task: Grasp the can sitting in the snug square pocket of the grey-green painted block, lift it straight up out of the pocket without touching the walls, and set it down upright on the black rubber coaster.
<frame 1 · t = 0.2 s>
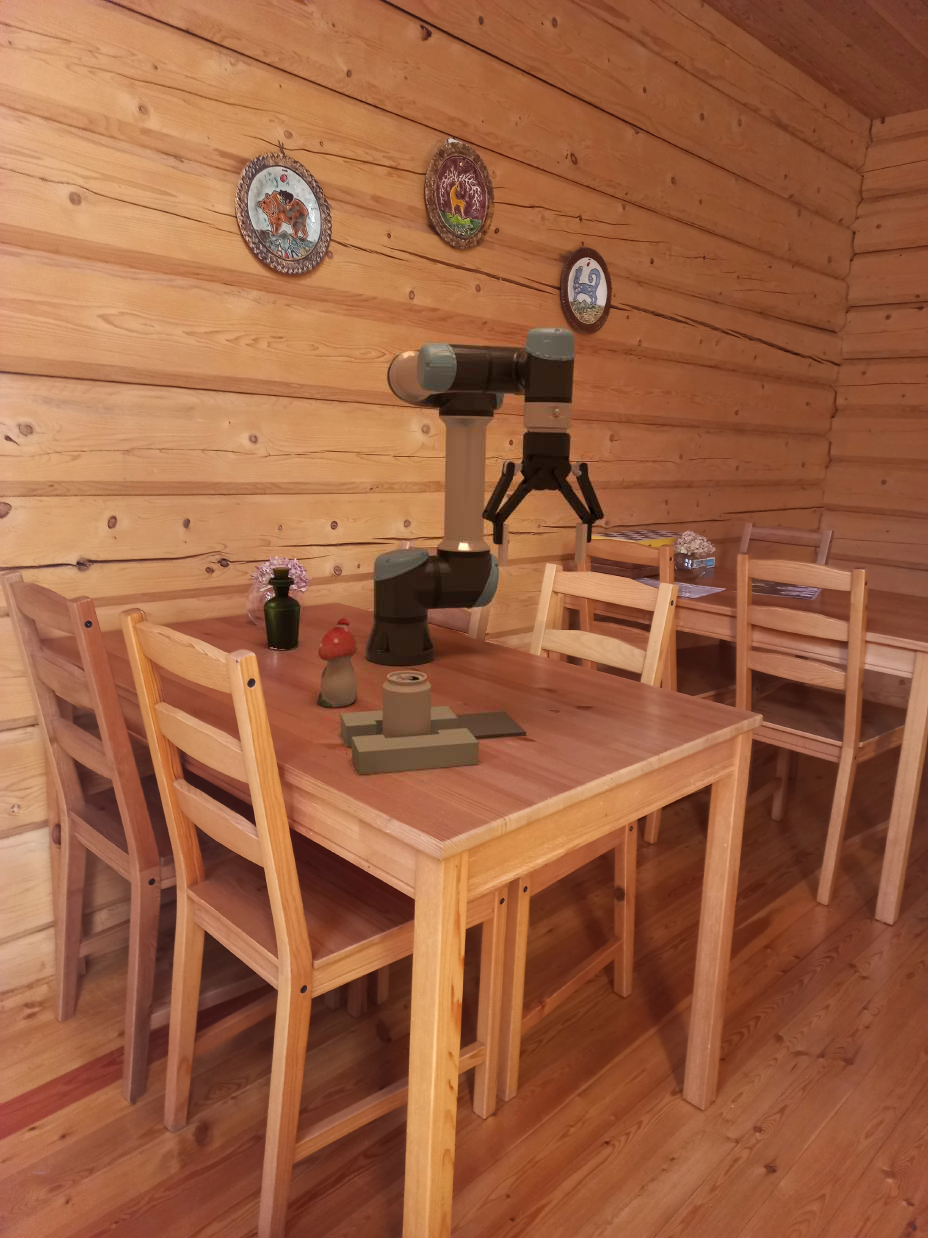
hand: (541, 563, 145), 28 cm above the table, fingers open, 13 cm apart
decorative ornament: (337, 703, 161), on the table
coaster: (484, 726, 150), on the table
pocket block: (406, 748, 139), on the table
can: (406, 749, 139), on the table
potion bottle: (282, 648, 200), on the table
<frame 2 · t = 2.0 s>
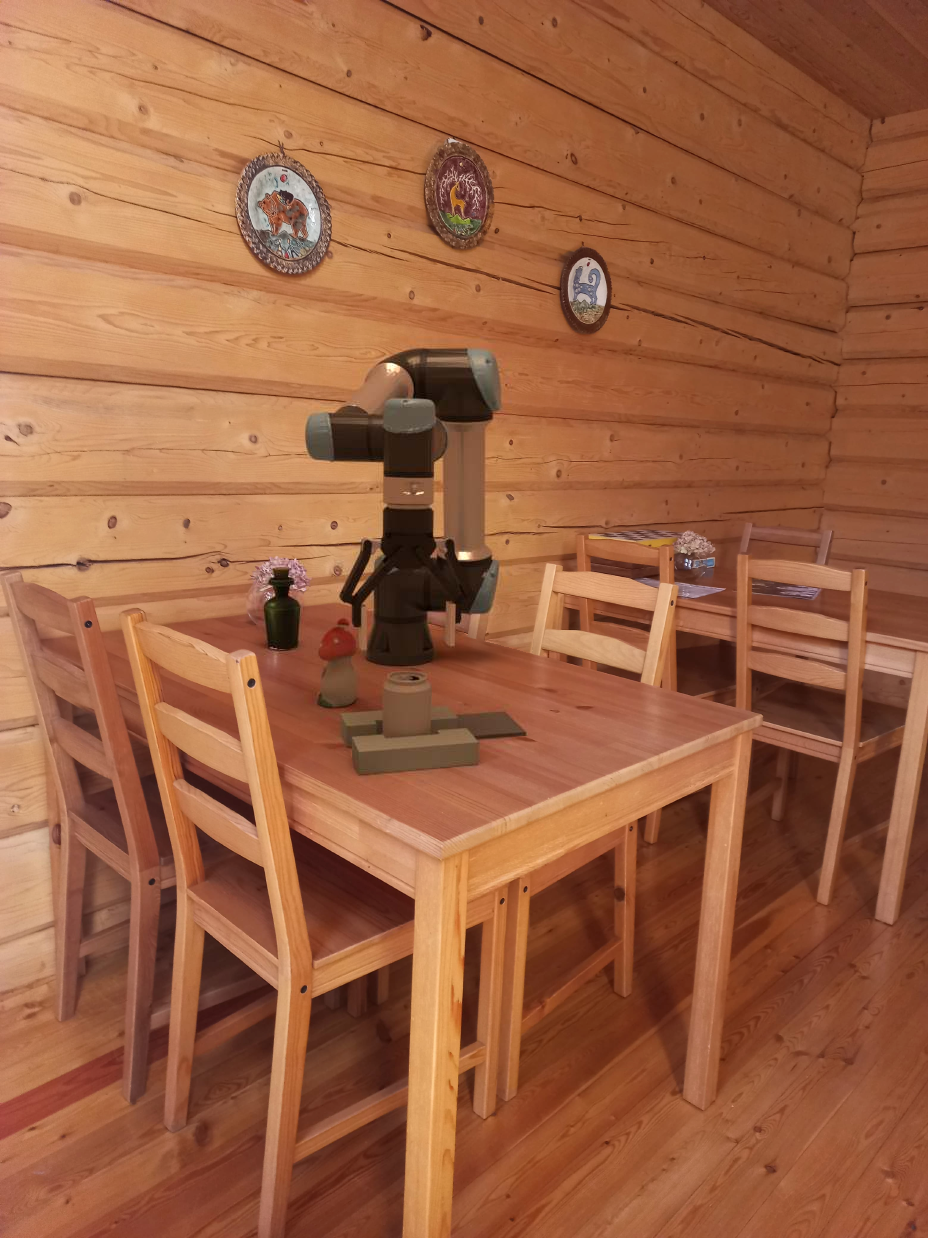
hand: (406, 646, 135), 17 cm above the table, fingers open, 13 cm apart
nothing on the table moved.
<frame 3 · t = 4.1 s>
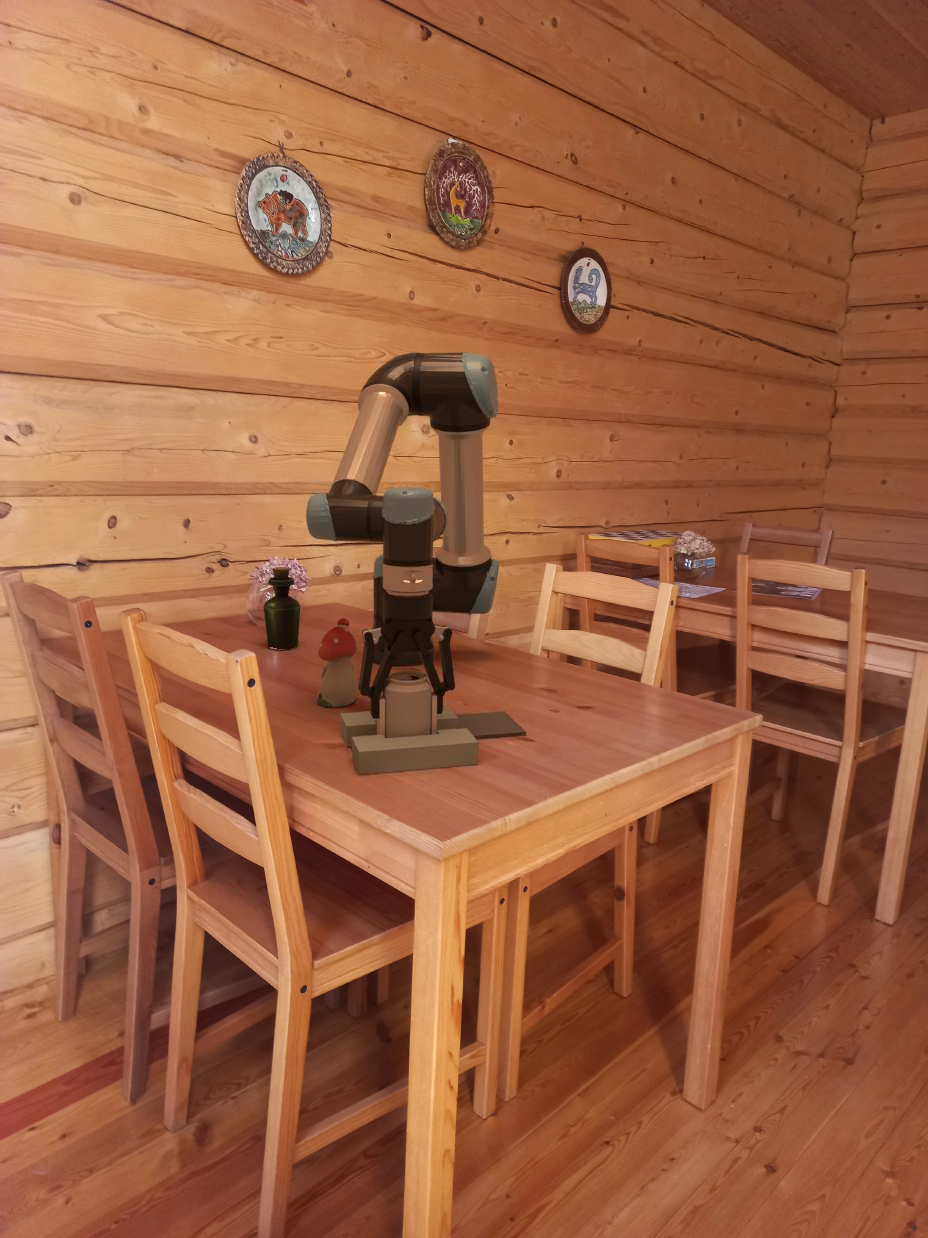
hand: (406, 735, 138), 2 cm above the table, fingers closed on can, 7 cm apart
can: (406, 749, 139), on the table, touching gripper
everything else where it was.
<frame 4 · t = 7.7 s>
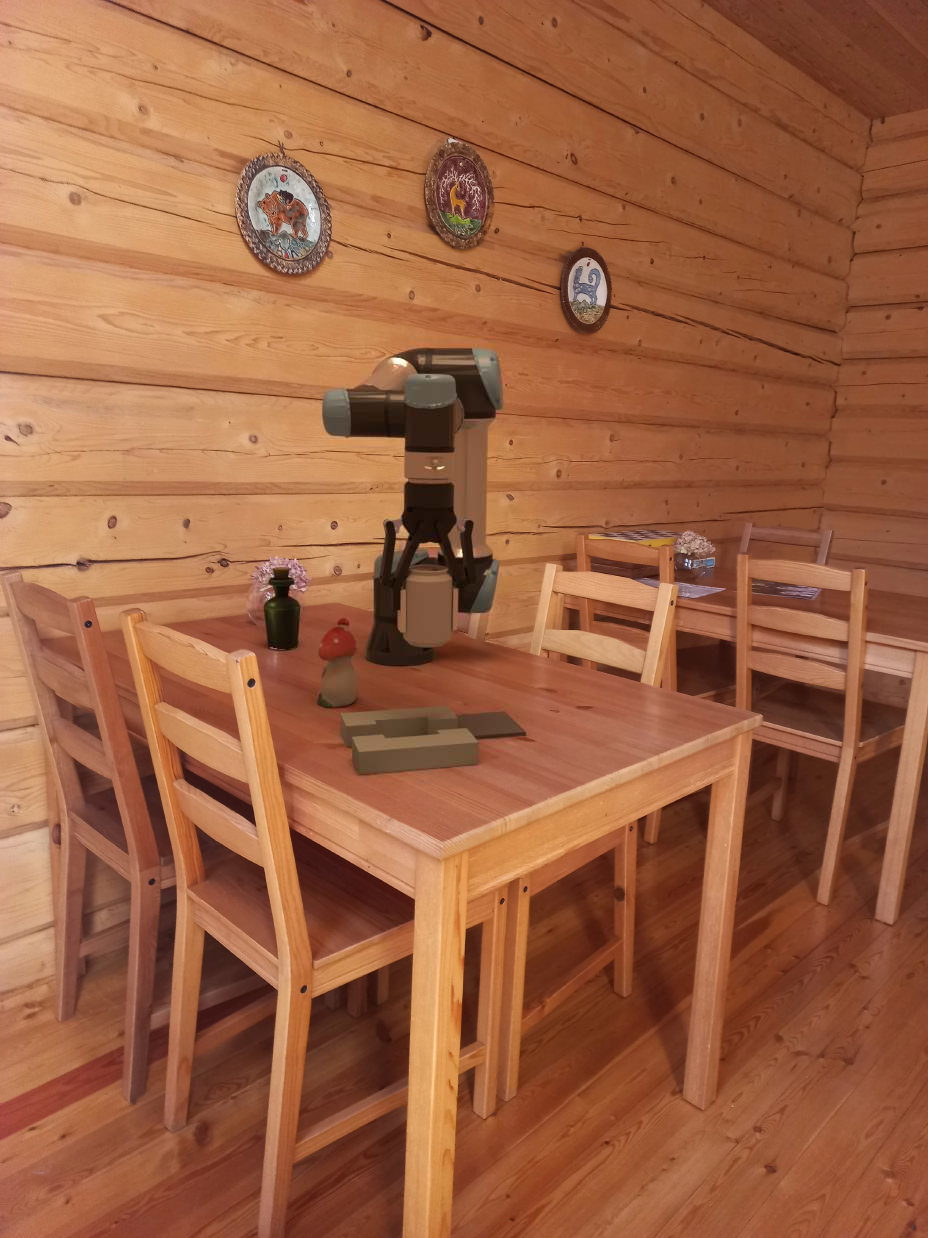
hand: (427, 629, 138), 19 cm above the table, fingers closed on can, 7 cm apart
can: (427, 643, 138), point 16 cm above the table, touching gripper
everything else where it was.
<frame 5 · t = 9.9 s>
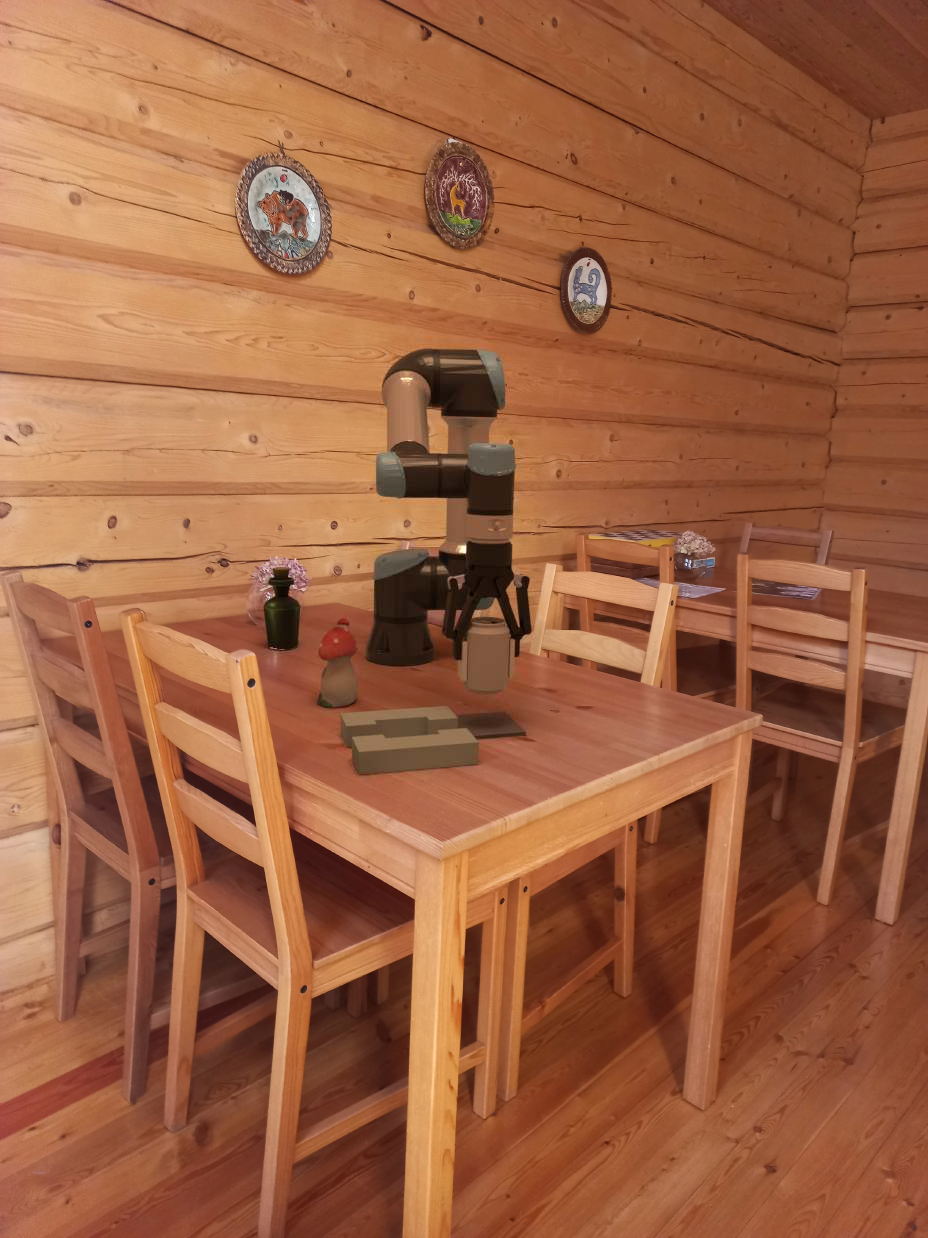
hand: (485, 677, 148), 9 cm above the table, fingers closed on can, 7 cm apart
can: (485, 690, 148), point 6 cm above the table, touching gripper
everything else where it was.
when the fingers open (4 cm above the table, at t = 11.5 s): can drops 1 cm, resting on coaster.
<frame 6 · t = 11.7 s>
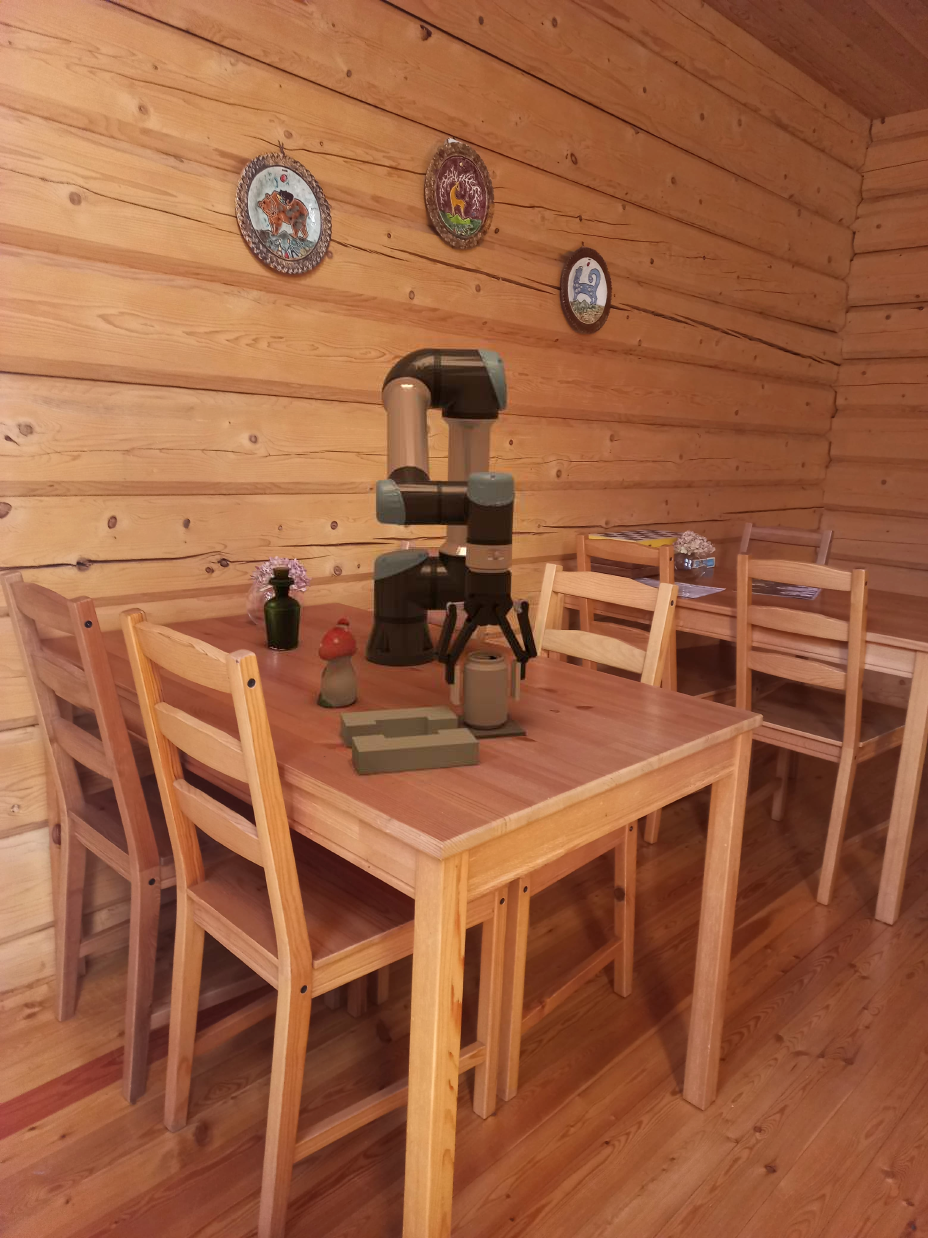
hand: (484, 700, 149), 5 cm above the table, fingers open, 10 cm apart
can: (484, 724, 150), resting on coaster
everything else where it was.
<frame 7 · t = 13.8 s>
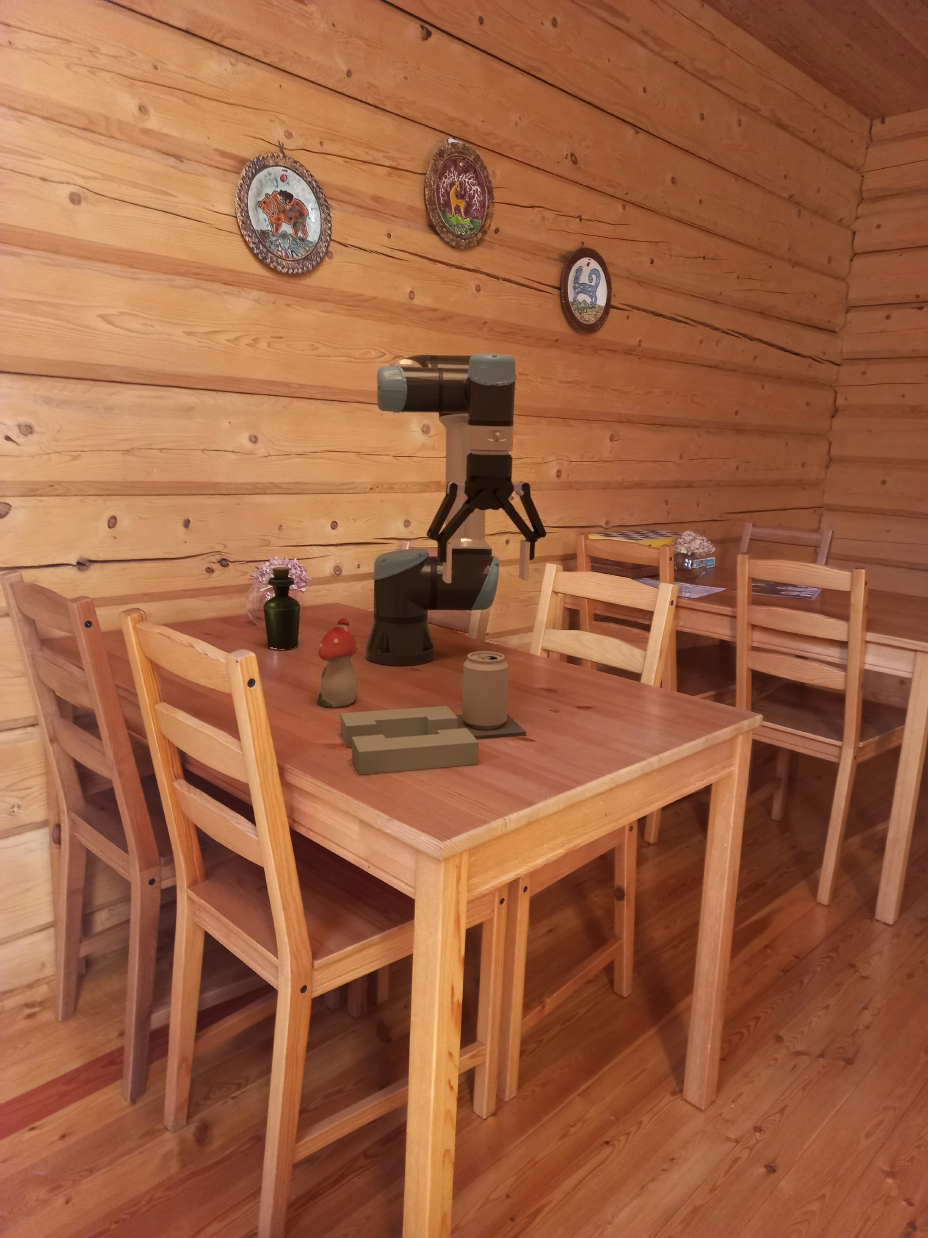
hand: (485, 580, 150), 24 cm above the table, fingers open, 13 cm apart
nothing on the table moved.
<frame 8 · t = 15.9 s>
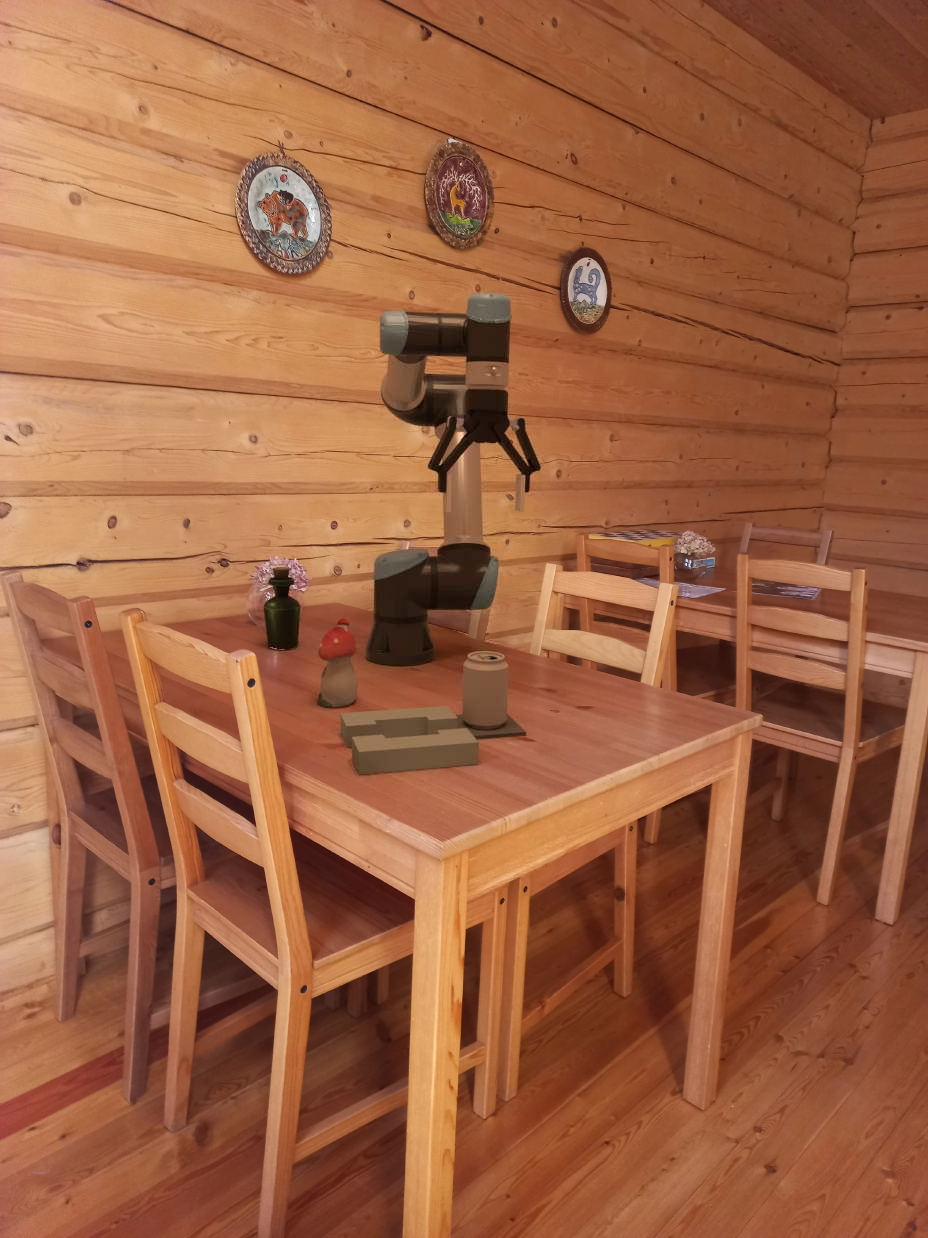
hand: (483, 511, 158), 35 cm above the table, fingers open, 13 cm apart
nothing on the table moved.
at the end: can inside the target area on the coaster (0.0 cm from its centre), point 0.4 cm above the coaster's base; can tilted 0°; the gripper is holding nothing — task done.
